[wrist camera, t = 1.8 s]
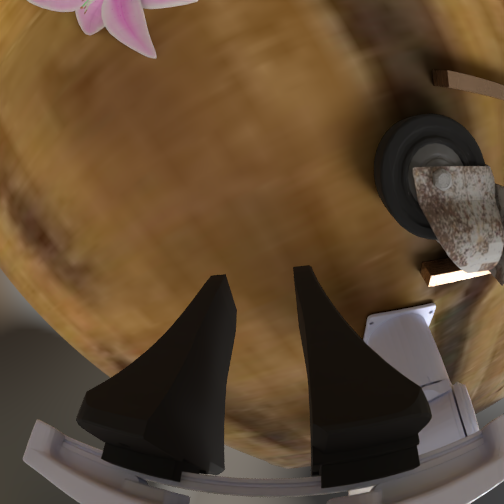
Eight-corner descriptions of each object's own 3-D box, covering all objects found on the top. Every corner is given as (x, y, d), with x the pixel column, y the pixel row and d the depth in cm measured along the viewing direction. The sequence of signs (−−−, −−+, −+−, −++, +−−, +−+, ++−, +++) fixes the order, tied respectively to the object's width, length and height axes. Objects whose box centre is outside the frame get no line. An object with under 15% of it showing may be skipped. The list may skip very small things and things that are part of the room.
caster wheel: (361, 119, 17) (471, 119, 14) (374, 258, 21) (473, 249, 18) (377, 110, 11) (516, 119, 8) (388, 302, 15) (508, 286, 12)
